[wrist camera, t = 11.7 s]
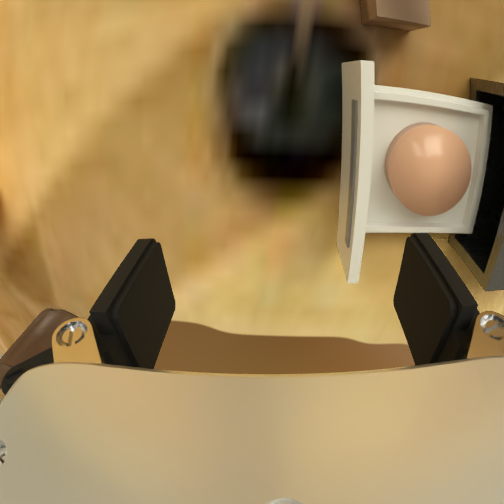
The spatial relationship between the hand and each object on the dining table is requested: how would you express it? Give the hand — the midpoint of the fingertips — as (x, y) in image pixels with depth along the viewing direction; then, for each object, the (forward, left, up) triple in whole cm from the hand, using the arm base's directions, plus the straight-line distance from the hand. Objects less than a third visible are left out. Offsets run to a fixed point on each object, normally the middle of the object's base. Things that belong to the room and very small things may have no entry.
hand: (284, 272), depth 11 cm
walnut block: (+9, +13, -16) cm, 22 cm away
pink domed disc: (+11, 0, -14) cm, 18 cm away
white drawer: (+11, 0, -15) cm, 19 cm away
